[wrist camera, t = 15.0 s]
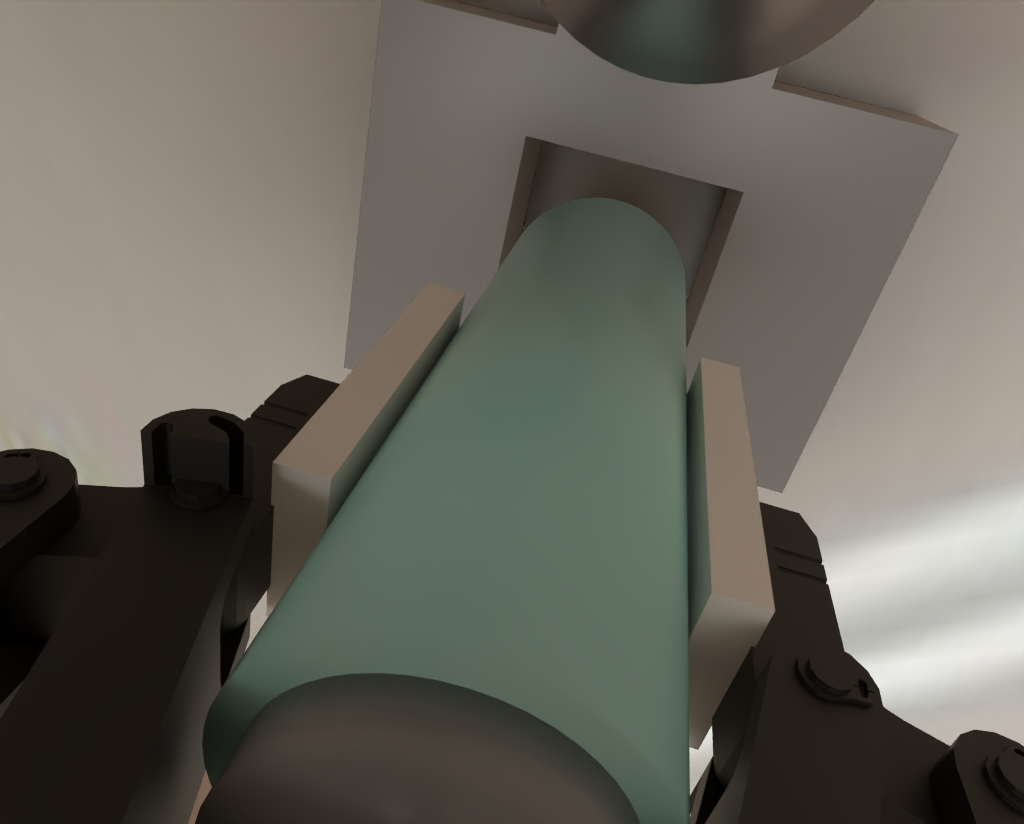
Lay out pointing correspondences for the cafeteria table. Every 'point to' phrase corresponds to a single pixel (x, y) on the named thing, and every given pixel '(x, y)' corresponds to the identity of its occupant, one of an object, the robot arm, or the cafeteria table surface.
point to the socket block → (654, 144)
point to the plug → (497, 572)
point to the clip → (703, 34)
